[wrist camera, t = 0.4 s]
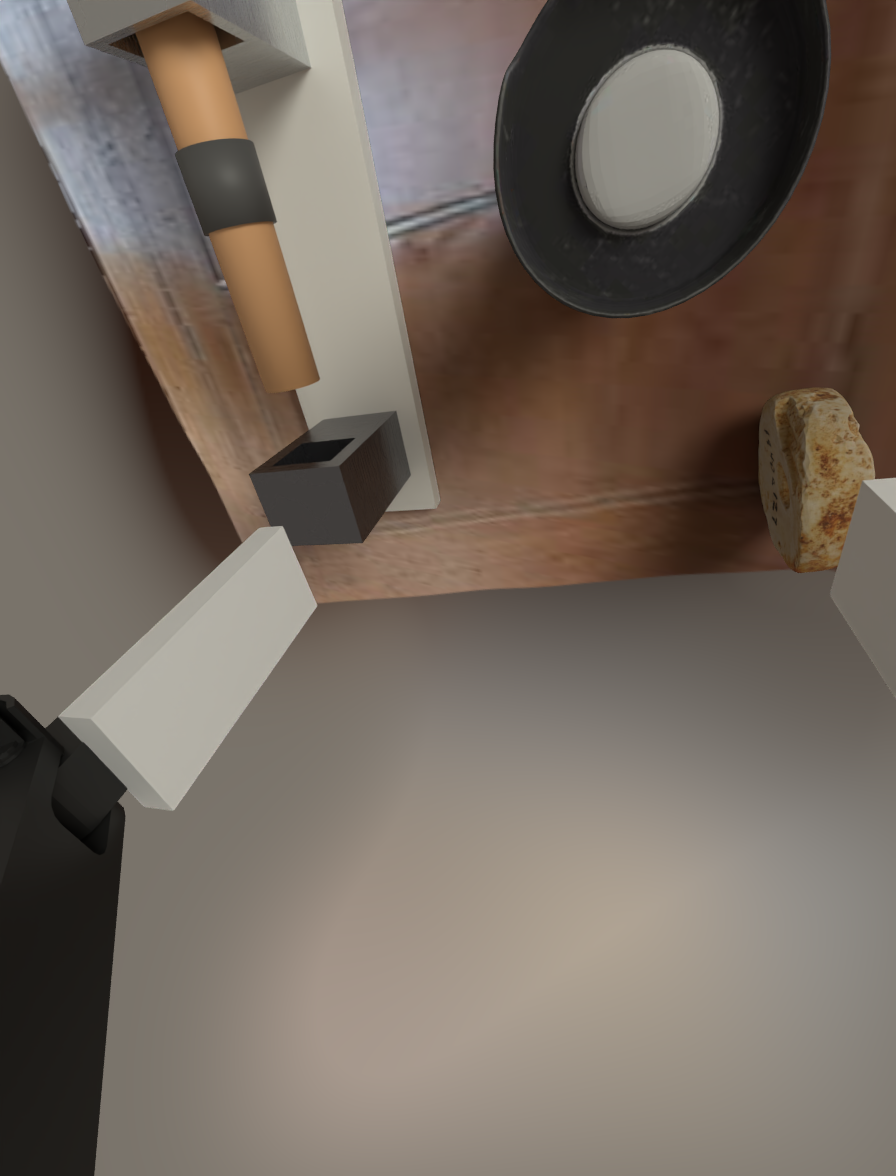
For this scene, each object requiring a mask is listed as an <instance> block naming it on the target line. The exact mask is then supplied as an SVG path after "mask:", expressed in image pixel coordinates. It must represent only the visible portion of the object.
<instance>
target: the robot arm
mask: <svg viewBox="0 0 896 1176" xmlns="http://www.w3.org/2000/svg"><path fill="white" fill-rule="evenodd" d="M830 596H831V598H832V599H833V601H834V602H835V604H836V606H837V607H838V609H839V610H840V612H841V614H842V615H843V617H844V618H845V620H846V622H847V623H848V624H849V626H850V628H851V629H852V631H853V633H854V634H855V635H856V637H857V639H858V640H859V642H860V644H861V645H862V647H863V648H864V650H865V651H866V653H867V655H868V656H869V658H870V659H871V661H872V663H873V664H874V666H875V667H876V669H877V670H878V672H879V674H880V675H881V677H882V678H883V680H884V681H885V683H886V685H887V686H888V688H889V689H890V691H891V693H892V694H893V696H894V697H895V699H896V478H889V479H876V480H863V481H862V484H861V487H860V491H859V494H858V498H857V501H856V505H855V508H854V512H853V515H852V519H851V522H850V525H849V529H848V532H847V536H846V539H845V543H844V546H843V550H842V553H841V557H840V560H839V564H838V567H837V571H836V574H835V578H834V581H833V585H832V588H831V592H830ZM316 607H317V604H316V601H315V599H314V597H313V594H312V592H311V590H310V588H309V585H308V583H307V581H306V578H305V576H304V574H303V571H302V569H301V567H300V565H299V562H298V560H297V558H296V555H295V553H294V551H293V548H292V546H291V544H290V542H289V539H288V537H287V535H286V532H285V530H284V528H283V526H275V527H262V528H258V529H257V530H256V531H255V532H254V533H253V534H252V535H251V536H250V537H249V538H248V539H247V540H246V541H244V542H243V543H242V544H241V545H240V546H239V547H238V548H237V549H236V550H235V551H234V552H233V553H232V554H231V555H230V556H228V558H226V559H225V560H224V561H223V562H222V563H221V564H220V565H219V566H218V567H217V568H216V569H215V570H214V571H212V572H211V573H210V574H209V575H208V576H207V577H206V578H205V579H204V580H203V581H202V582H201V583H200V584H199V585H198V586H196V587H195V588H194V589H193V590H192V591H191V592H190V593H189V594H188V595H187V596H186V597H185V598H184V599H183V600H182V601H181V602H179V603H178V604H177V605H176V606H175V607H174V608H173V609H172V610H171V611H170V612H169V613H168V614H167V615H166V616H165V617H163V618H162V619H161V620H160V621H159V622H158V623H157V624H156V625H155V626H154V627H153V628H152V629H151V630H150V631H149V632H148V633H146V634H145V635H144V636H143V637H142V638H141V639H140V640H139V641H138V642H137V643H136V644H135V645H134V646H133V647H131V648H130V649H129V650H128V651H127V652H126V653H125V654H124V655H123V656H122V657H121V658H120V659H119V660H118V661H117V662H115V664H113V665H112V666H111V667H110V668H109V669H108V670H107V671H106V672H105V673H104V674H103V675H102V676H101V677H100V678H98V679H97V680H96V681H95V682H94V683H93V684H92V685H91V686H90V687H89V688H88V689H87V690H86V691H85V692H83V694H81V695H80V696H79V697H78V698H77V699H76V700H75V701H74V702H73V703H72V704H71V705H70V706H69V707H68V708H66V709H65V710H64V711H63V712H62V713H61V714H60V715H59V716H58V717H57V718H56V719H55V720H54V721H53V722H52V723H51V724H50V725H49V726H48V727H46V728H44V727H43V726H42V725H41V724H40V723H39V722H38V721H37V720H36V719H35V718H34V717H33V716H32V715H31V714H30V713H29V712H28V711H27V710H26V709H25V708H24V707H23V706H22V705H21V704H20V703H19V702H18V701H17V700H16V699H15V698H14V697H12V696H10V695H0V1176H94V1171H95V1160H96V1148H97V1137H98V1124H99V1114H100V1102H101V1091H102V1079H103V1068H104V1067H103V1066H104V1056H105V1045H106V1033H107V1022H108V1009H109V999H110V987H111V975H112V964H113V952H114V941H115V929H116V918H117V907H118V894H119V884H120V872H121V860H122V849H123V838H124V826H125V811H124V808H123V807H122V806H121V805H120V804H119V803H118V802H117V801H118V800H119V799H120V797H121V796H122V795H123V794H124V793H125V792H126V790H128V791H129V792H130V793H131V794H132V795H133V796H134V797H135V798H136V799H137V800H138V801H139V802H140V803H141V804H142V806H144V807H149V808H156V809H163V810H171V811H174V809H175V808H176V806H177V805H178V804H179V802H180V801H181V799H182V798H183V797H184V795H185V794H186V792H187V791H188V789H189V788H190V787H191V785H192V784H193V782H194V781H195V780H196V778H197V777H198V775H199V774H200V772H201V771H202V770H203V768H204V767H205V765H206V764H207V762H208V761H209V759H210V758H211V757H212V755H213V754H214V752H215V751H216V749H217V748H218V747H219V745H220V744H221V742H222V741H223V740H224V738H225V737H226V735H227V734H228V732H229V731H230V730H231V728H232V726H233V725H234V724H235V723H236V721H237V720H238V718H239V717H240V715H241V714H242V712H243V711H244V710H245V708H246V707H247V705H248V704H249V702H250V701H251V700H252V698H253V697H254V695H255V694H256V693H257V691H258V690H259V688H260V687H261V685H262V684H263V683H264V681H265V680H266V678H267V677H268V676H269V674H270V673H271V671H272V670H273V668H274V667H275V666H276V664H277V663H278V661H279V660H280V658H281V657H282V656H283V654H284V653H285V651H286V650H287V648H288V647H289V645H290V644H291V643H292V641H293V640H294V638H295V637H296V636H297V634H298V633H299V631H300V630H301V628H302V627H303V626H304V624H305V623H306V621H307V620H308V618H309V617H310V616H311V614H312V613H313V611H314V610H315V608H316Z"/></svg>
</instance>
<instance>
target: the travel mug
mask: <svg viewBox="0 0 896 1176" xmlns="http://www.w3.org/2000/svg"><path fill="white" fill-rule="evenodd" d="M830 64H831V39H830V23H829V17H828V11H827V5H826V0H548V1H547V2H546V4H545V5H544V7H543V9H542V10H541V12H540V13H539V15H538V17H537V18H536V20H535V22H534V24H533V25H532V27H531V29H530V31H529V32H528V34H527V36H526V38H525V40H524V41H523V44H522V45H521V47H520V49H519V51H518V52H517V54H516V56H515V57H514V59H513V61H512V62H511V64H510V65H509V67H508V69H507V70H506V73H505V75H504V79H503V82H502V86H501V90H500V95H499V100H498V107H497V114H496V122H495V135H494V180H495V191H496V197H497V202H498V207H499V212H500V216H501V219H502V223H503V226H504V229H505V232H506V235H507V237H508V239H509V242H510V244H511V246H512V248H513V251H514V253H515V254H516V256H517V258H518V259H519V261H520V263H521V264H522V266H523V267H524V269H525V270H526V271H527V273H528V274H529V275H530V276H531V277H532V279H533V280H534V281H535V282H536V283H537V284H538V285H539V286H540V287H541V288H542V289H543V290H544V291H545V292H547V293H548V294H549V295H550V296H552V297H553V298H555V299H556V300H558V301H559V302H561V303H562V304H564V305H566V306H568V307H570V308H573V309H575V310H577V311H580V312H583V313H586V314H590V315H593V316H600V317H607V318H632V317H639V316H646V315H650V314H653V313H657V312H660V311H664V310H667V309H669V308H672V307H674V306H676V305H679V304H681V303H684V302H686V301H687V300H689V299H691V298H693V297H695V296H696V295H698V294H700V293H702V292H704V291H705V290H706V289H708V288H709V287H711V286H712V285H713V284H715V283H716V282H718V281H719V280H721V279H722V278H723V277H724V276H725V275H727V274H728V273H729V272H730V271H731V270H732V269H733V268H735V267H736V266H737V265H738V264H739V263H740V262H741V261H742V260H743V259H744V258H745V257H746V256H747V255H748V254H749V253H750V252H751V251H752V250H753V249H754V248H755V247H756V245H757V244H758V243H759V242H760V241H761V239H762V238H763V237H764V236H765V234H766V233H767V232H768V230H769V229H770V228H771V227H772V225H773V224H774V223H775V221H776V220H777V218H778V217H779V215H780V213H781V212H782V210H783V209H784V207H785V206H786V204H787V203H788V201H789V199H790V198H791V196H792V194H793V192H794V190H795V188H796V186H797V184H798V182H799V180H800V178H801V176H802V174H803V172H804V170H805V167H806V165H807V162H808V160H809V158H810V155H811V153H812V150H813V148H814V145H815V142H816V138H817V135H818V132H819V128H820V125H821V122H822V118H823V114H824V109H825V103H826V98H827V93H828V88H829V76H830Z"/></svg>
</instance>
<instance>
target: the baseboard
mask: <svg viewBox="0 0 896 1176" xmlns="http://www.w3.org/2000/svg"><path fill="white" fill-rule="evenodd" d="M296 5H297V9H298V13H299V18H300V22H301V26H302V30H303V35H304V39H305V43H306V48H307V52H308V56H309V60H310V65H311V68H309V69H306V70H303V71H300V72H297V73H294V74H292V75H289V76H286V77H283V78H280V79H277V80H274V81H272V82H269V83H266V84H263V85H260V86H257V87H255V88H252V89H249V90H246V91H243V92H240V93H238V94H235V97H236V101H237V104H238V107H239V111H240V114H241V117H242V121H243V124H244V127H245V131H246V134H247V137H248V140H251V141H252V142H253V143H254V146H255V149H256V152H257V156H258V159H259V163H260V166H261V169H262V173H263V176H264V179H265V183H266V186H267V190H268V193H269V196H270V200H271V203H272V206H273V210H274V213H275V216H276V220H277V222H276V223H275V224H274V227H275V230H276V234H277V237H278V240H279V244H280V247H281V250H282V254H283V257H284V260H285V264H286V267H287V270H288V274H289V277H290V280H291V284H292V287H293V290H294V294H295V297H296V300H297V304H298V307H299V310H300V314H301V317H302V320H303V324H304V327H305V330H306V334H307V337H308V340H309V343H310V347H311V350H312V353H313V357H314V360H315V363H316V367H317V370H318V373H319V377H320V380H319V381H317V382H316V383H313V384H311V385H308V386H305V387H302V388H298V389H296V392H297V395H298V398H299V402H300V405H301V408H302V411H303V414H304V417H305V420H306V423H307V426H308V429H309V430H310V429H311V428H313V427H314V426H315V425H317V424H318V423H319V422H321V421H322V420H324V419H332V418H340V417H348V416H357V415H365V414H373V413H381V412H390V411H396V412H397V416H398V420H399V425H400V429H401V434H402V438H403V442H404V447H405V451H406V456H407V460H408V464H409V469H410V473H411V476H410V477H409V479H408V480H407V481H406V483H405V484H404V486H403V487H402V488H401V490H400V491H399V493H398V494H397V495H396V497H395V498H394V500H393V501H392V503H391V504H390V505H389V507H388V508H387V510H386V511H385V512H388V511H405V510H422V509H436V508H437V506H438V504H439V502H440V501H441V500H440V495H439V490H438V485H437V480H436V475H435V470H434V465H433V460H432V455H431V450H430V445H429V439H428V434H427V429H426V424H425V419H424V414H423V409H422V404H421V399H420V394H419V389H418V384H417V379H416V374H415V369H414V364H413V359H412V354H411V349H410V343H409V338H408V333H407V328H406V323H405V318H404V313H403V308H402V303H401V298H400V293H399V288H398V283H397V278H396V273H395V268H394V263H393V258H392V252H391V247H390V242H389V237H388V232H387V227H386V222H385V217H384V212H383V207H382V202H381V197H380V192H379V187H378V182H377V177H376V172H375V167H374V161H373V156H372V151H371V146H370V141H369V136H368V131H367V126H366V121H365V116H364V111H363V106H362V101H361V96H360V91H359V86H358V81H357V76H356V70H355V65H354V60H353V55H352V50H351V45H350V40H349V35H348V30H347V25H346V20H345V15H344V10H343V5H342V0H296Z"/></svg>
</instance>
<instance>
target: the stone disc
mask: <svg viewBox="0 0 896 1176" xmlns="http://www.w3.org/2000/svg"><path fill="white" fill-rule="evenodd" d="M858 430H859V424H858V423H857V421H856V420H855V418H854V416H853V411H852V410H851V408H850V406H849V404H848V403H847V401H846V400H845V399H844V398H843V397H842V396H841V395H840V394H839V393H838V392H836V391H835V390H833V389H830V388H807V389H799V390H792V391H787V392H783V393H780V394H778V395H775V396H773V397H772V398H770V399H769V400H768V401H767V402H766V403H765V405H764V407H763V409H762V415H761V419H760V426H759V448H758V458H759V472H758V478H759V485H760V493H761V499H762V504H763V508H764V512H765V515H766V517H767V521H768V527H769V532H770V536H771V538H772V541H773V544H774V546H775V548H776V549H777V550H778V551H779V553H780V554H781V556H783V559H784V561H785V563H786V564H787V565H788V566H789V568H790V569H792V570H793V571H795V572H797V573H804V572H815V571H822V570H827V569H832V568H836V567H838V564H839V560H840V557H841V553H842V550H843V546H844V543H845V539H846V536H847V532H848V529H849V525H850V522H851V519H852V515H853V512H854V508H855V505H856V501H857V498H858V494H859V491H860V487H861V484H862V481H863V480H874V478H875V470H874V462H873V457H872V454H871V452H870V450H869V448H868V446H867V444H866V443H865V442H864V441H863V439H862V436H861V434H860V433H859V432H858Z"/></svg>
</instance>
